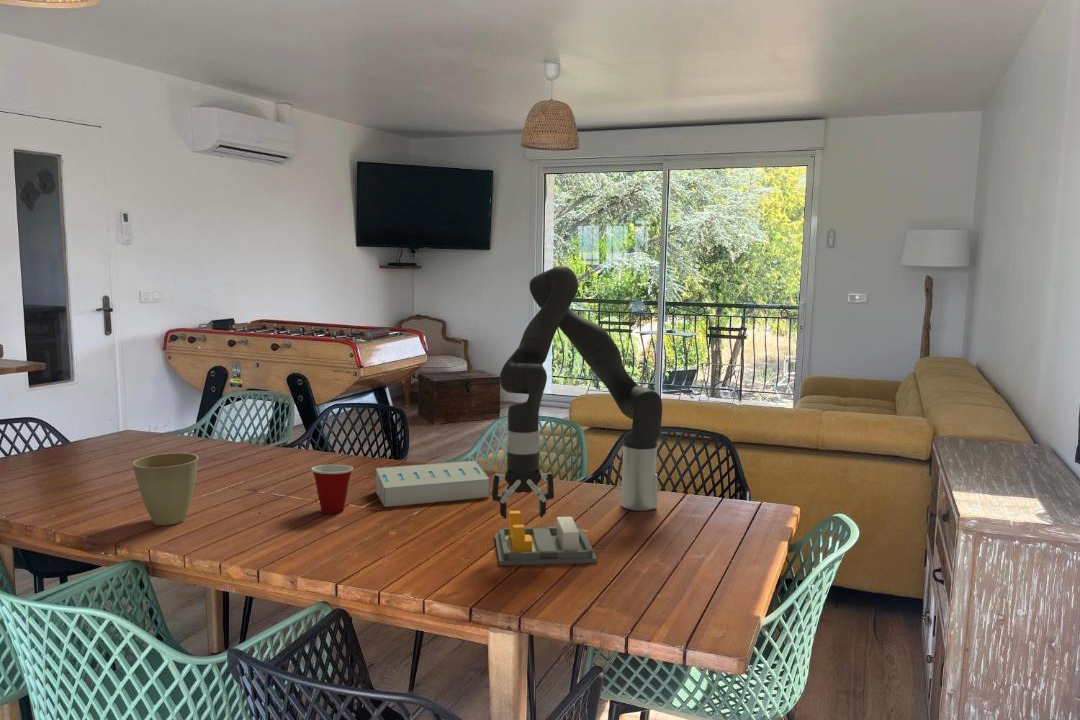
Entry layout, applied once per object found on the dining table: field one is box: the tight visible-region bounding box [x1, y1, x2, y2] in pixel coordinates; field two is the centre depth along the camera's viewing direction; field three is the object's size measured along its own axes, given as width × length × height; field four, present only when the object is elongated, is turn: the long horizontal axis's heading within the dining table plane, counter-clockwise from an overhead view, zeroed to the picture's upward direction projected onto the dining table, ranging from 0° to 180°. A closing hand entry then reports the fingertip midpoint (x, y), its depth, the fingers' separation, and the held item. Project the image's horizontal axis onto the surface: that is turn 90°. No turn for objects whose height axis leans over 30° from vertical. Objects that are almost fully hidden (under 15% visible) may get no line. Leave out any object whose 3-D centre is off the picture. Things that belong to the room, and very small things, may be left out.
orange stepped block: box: [508, 510, 533, 552], centre depth 183 cm, size 12×4×6 cm, turn 7°
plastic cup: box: [311, 464, 354, 515], centre depth 209 cm, size 11×11×12 cm
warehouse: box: [375, 459, 491, 508], centre depth 225 cm, size 30×14×8 cm, turn 111°
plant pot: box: [132, 452, 199, 526], centre depth 198 cm, size 15×15×16 cm
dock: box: [494, 516, 598, 566], centre depth 184 cm, size 22×18×6 cm
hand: (522, 516), depth 183 cm, fingers open, 8 cm apart
